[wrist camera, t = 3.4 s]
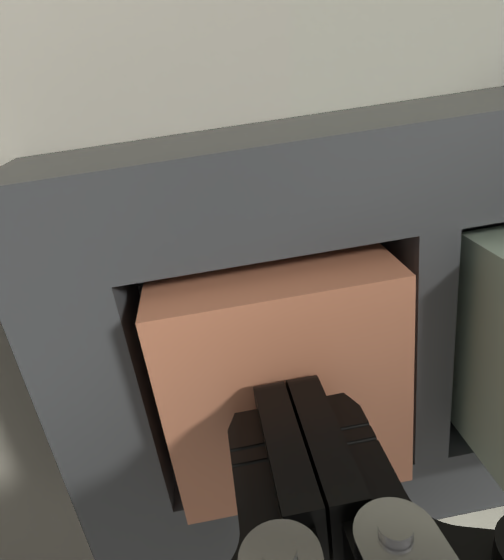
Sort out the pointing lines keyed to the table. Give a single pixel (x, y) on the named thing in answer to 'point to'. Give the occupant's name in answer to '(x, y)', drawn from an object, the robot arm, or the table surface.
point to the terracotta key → (276, 354)
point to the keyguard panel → (226, 254)
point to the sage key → (481, 348)
